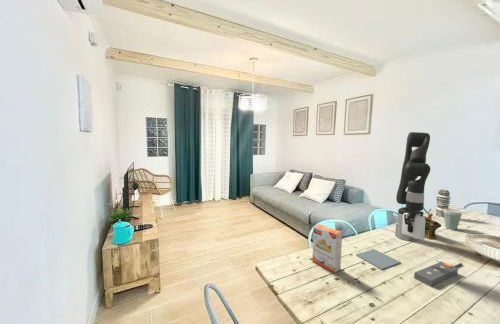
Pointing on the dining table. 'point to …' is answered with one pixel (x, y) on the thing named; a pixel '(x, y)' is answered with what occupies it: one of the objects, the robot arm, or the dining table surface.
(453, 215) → the disposable coffee cup
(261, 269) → the dining table surface
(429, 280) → the power strip
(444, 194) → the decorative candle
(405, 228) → the photo printer
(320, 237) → the cracker box
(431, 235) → the decorative box
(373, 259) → the rubber mat
